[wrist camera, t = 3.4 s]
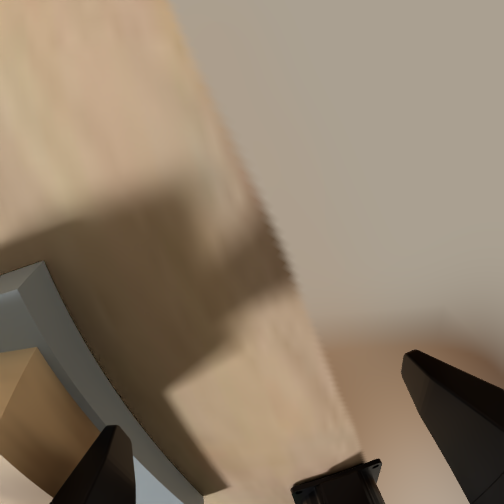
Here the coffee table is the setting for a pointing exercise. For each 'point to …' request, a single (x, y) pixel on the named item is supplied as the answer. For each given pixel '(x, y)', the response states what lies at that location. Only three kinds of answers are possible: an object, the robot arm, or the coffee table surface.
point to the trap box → (82, 376)
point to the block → (37, 429)
